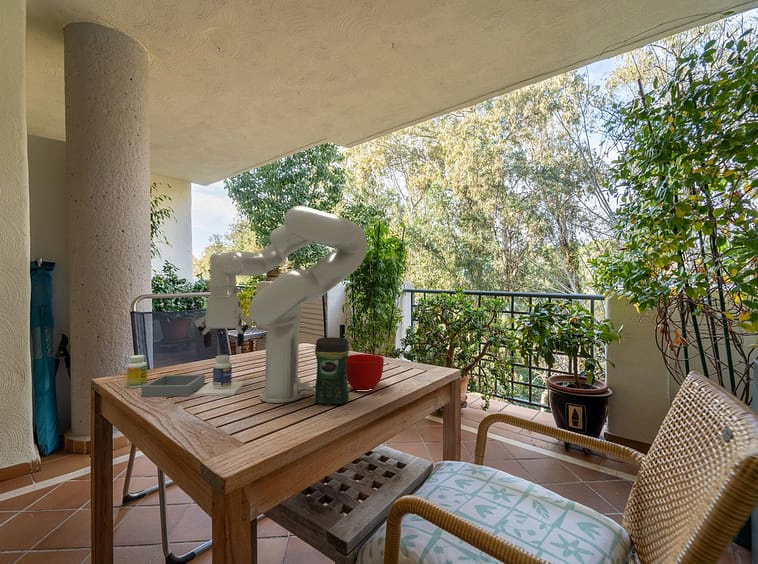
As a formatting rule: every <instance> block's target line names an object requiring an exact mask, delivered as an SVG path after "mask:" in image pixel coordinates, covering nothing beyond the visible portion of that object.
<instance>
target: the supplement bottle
mask: <svg viewBox="0 0 758 564" xmlns="http://www.w3.org/2000/svg"><path fill="white" fill-rule="evenodd" d="M145 357H146V356H145V354H136V355H131V356H129V362H128V364H127V366H126V387H127V388H129V389H137V388H138V389H139V388H141V387H142V386H144V385H146V384H148V382H147V380H148V379H147V378H148V377H147V375H148V363H147V362H146V361H145V359H146V358H145Z"/></svg>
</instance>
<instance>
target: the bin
mask: <svg viewBox="0 0 758 564" xmlns="http://www.w3.org/2000/svg"><path fill="white" fill-rule="evenodd" d="M205 385H206V375H205V374H162V375H161V376H159V377H158V378H155V379H154V380H152V381H149V382H147V384H146V385H144V386H142V387H140V388H141V389H140V390H141V394H140V395H141V396H140V397H141V398H147V397H146V396H157V398H158V397H159V396H160V397H161V396H175V397H189V396H190V395H191V394H193V393H195V392H197V390H198V389H201V388H202V386H205ZM161 398H162V397H161Z"/></svg>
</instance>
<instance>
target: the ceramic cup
mask: <svg viewBox="0 0 758 564" xmlns="http://www.w3.org/2000/svg"><path fill="white" fill-rule="evenodd" d="M384 361H385V358H384V357H382V356H381V355H377V354H369V353H367V354H366V353H364V354H363V353H362V354H361V353H358V354H350V355H349V354H348V356H347V360H346V371H347V382H348V384H349V385H350V387H352V389H353V388H354V389H356V390H369V389H373V388H374V389H375V388H376V387H377V385H378V384H379V383H380V381H381V379H382V376H383V372H384V363H385V362H384ZM354 389H353V390H354ZM374 389H373V390H374Z"/></svg>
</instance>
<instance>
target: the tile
mask: <svg viewBox="0 0 758 564" xmlns="http://www.w3.org/2000/svg"><path fill="white" fill-rule="evenodd" d="M245 384H246V382H245V381H231V386H230V387H228V388H224V389H215V388H213V381H209V382H208V383H207V384H205V385H203V387H201V388H199V390H198V391H195V392H194V393H195V394H194V395H195V396H198V397H200V396H202V397H203V396H205V397H206V396H209V397H210V396H211V397H212V396H235V394H236V393H237V392H238V391H239V390H240V389H241V388H242V387H243V386H245Z"/></svg>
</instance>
